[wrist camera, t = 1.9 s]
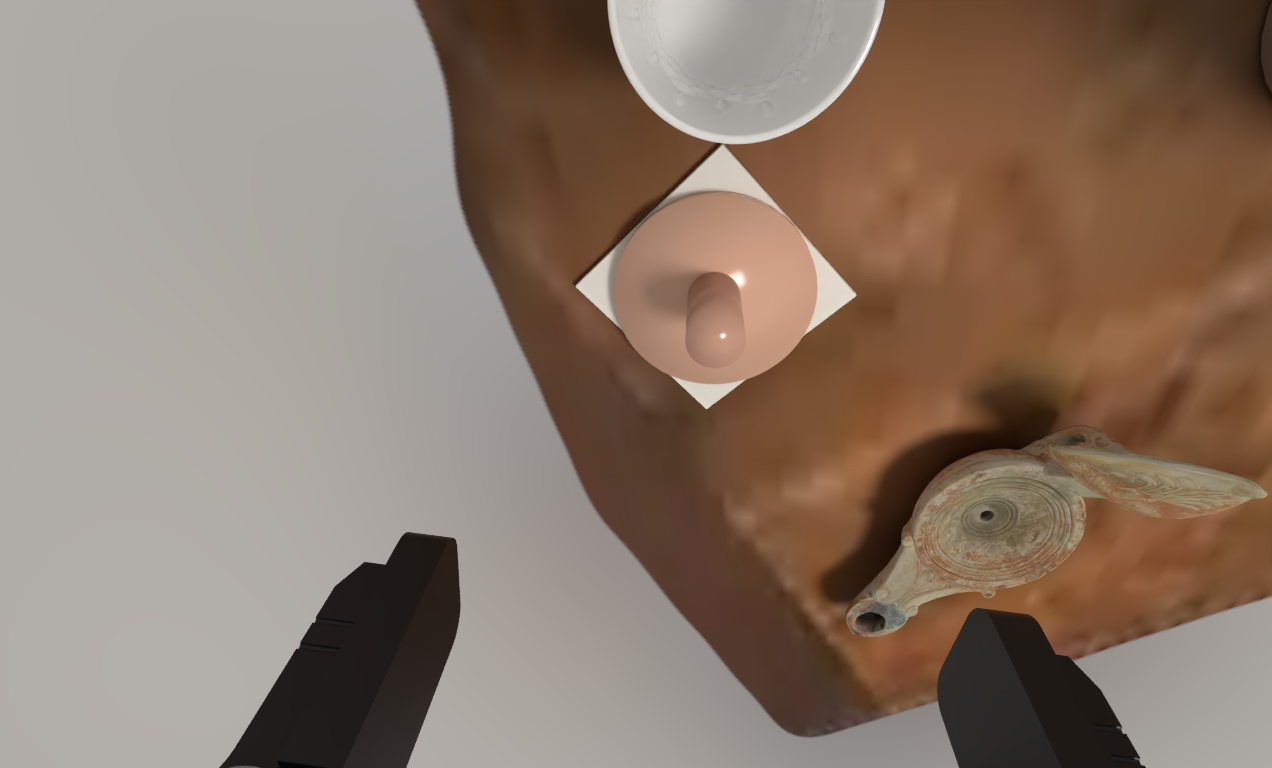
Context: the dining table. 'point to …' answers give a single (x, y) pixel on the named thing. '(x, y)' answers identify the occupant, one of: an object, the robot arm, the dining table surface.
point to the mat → (731, 177)
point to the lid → (715, 287)
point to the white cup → (741, 60)
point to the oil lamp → (1027, 517)
